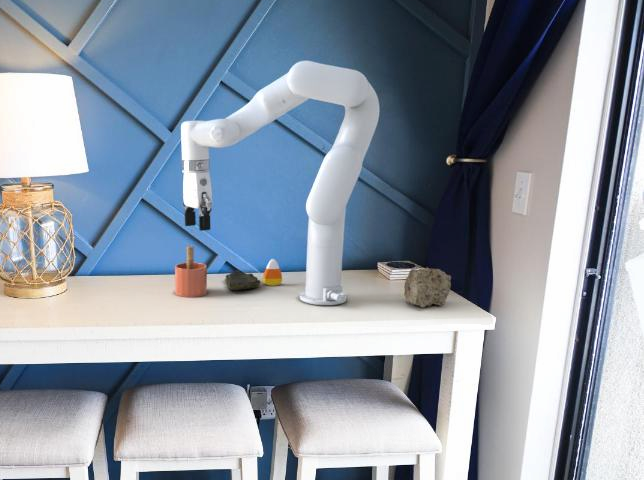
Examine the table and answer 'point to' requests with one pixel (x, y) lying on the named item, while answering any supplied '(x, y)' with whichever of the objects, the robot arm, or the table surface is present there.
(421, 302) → the rock
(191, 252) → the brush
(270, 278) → the candy corn
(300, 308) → the table surface
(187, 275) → the tumbler
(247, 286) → the stone
